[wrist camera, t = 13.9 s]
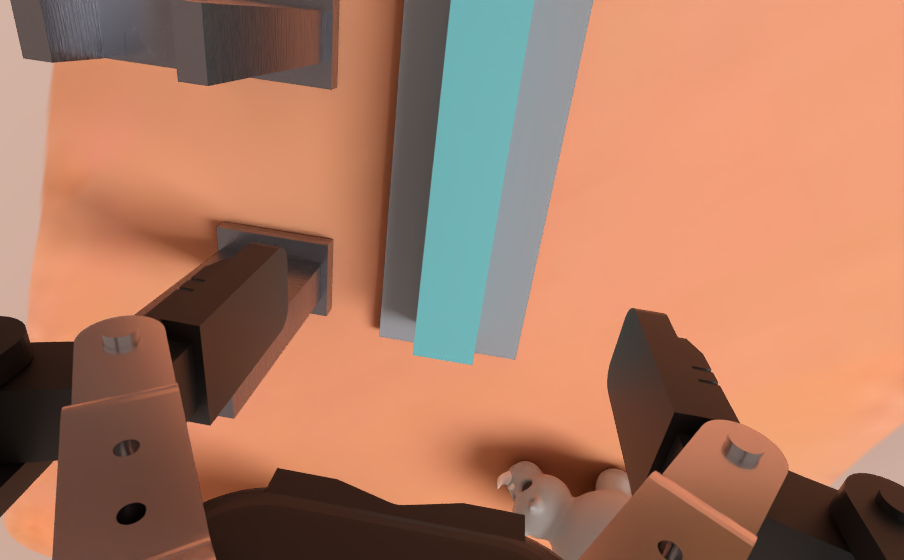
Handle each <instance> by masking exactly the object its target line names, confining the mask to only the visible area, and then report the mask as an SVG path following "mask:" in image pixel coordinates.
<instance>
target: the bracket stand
mask: <svg viewBox="0 0 904 560" xmlns="http://www.w3.org/2000/svg"><path fill="white" fill-rule="evenodd" d="M10 1H11V5H12V10H13V14H14V19H15V23H16V27H17V32H18V37H19V41H20V46H21V50H22V55H23V58H25V59H32V60H39V61H45V62H52V63H53V62H65V61H77V60H89V59H101V58H109V59H115V60H122V61H129V62H135V63H142V64H149V65H155V66H162V67H169V68H176V69H177V76H178V82H185V83H191V84H198V85H205V86H210V85H215V84H220V83H225V82H230V81H235V80H240V79H245V78H257V79H263V80H270V81H277V82H283V83H290V84H297V85H304V86H310V87H317V88H324V89H330V90H332V89H334V88H337V71H338V31H339V0H10ZM216 229H217V241H218V252H217V253H215V254H214V255H213V256H212V257H210V258H209V259H208V260H206V261H205V262H204V263H202V264H201V265H200V266H198V267H197V268H196V269H194V270H193V271H192V272H190V273H189V274H188V275H186V276H185V277H184V278H182V279H181V280H180V281H178V282H177V283H176V284H175V285H173V286H172V287H171V288H169V289H168V290H167V291H165V292H164V293H163V294H161V295H160V296H159V297H157V298H156V299H155V300H153V301H152V302H151V303H149V304H148V305H147V306H145V307H144V308H143V309H141V310H140V311H139V312H137V313H136V314H135V315H134V316H144V315H145V314H146V313H148V312H149V311H150V310H151V309H153V308H154V307H155V306H156V305H158V304H159V303H160V302H161V301H163V300H164V299H165V298H166V297H168V296H169V295H170V294H171V293H173V292H174V291H175V290H176V289H178V290H179V288H180V286H181V285H183V284H184V283H185V282H186V281H188V280H191V277H193V276H194V275H195V274H196V273H197V272H199V271H200V270H201V269H202V268H204V267H205V266H208V265H210V264H213V263H215V262H218V261H221V260H223V259H231V258H233V257H234V256H235V255H236V254H237V253H239V252H240V251H241V250H242V249H243V248H244V247H246V246H247V245H248V244H249V243H258V244H264V245H270V246H276V247H282V248H284V249H285V250H286V253H287V266H288V312H287V318H286V321H285V324H284V327H283V329H282V331H281V332H280V334H279V335H278V336H277V338H276V339H275V340H274V342H273V343H272V344H271V346H270V347H269V348H268V350H267V351H266V352H265V354H264V355H263V356H262V358H261V359H260V360H259V362H258V363H257V364H256V366H255V367H254V368H253V370H252V371H251V372H250V374H249V375H248V376H247V378H246V379H245V380H244V382H243V383H242V384H241V385H240V387H239V388H238V389H237V391H236V392H235V393H234V395H233V396H232V397H231V399H230V400H229V401H228V403H227V404H226V405H225V407H224V408H223V409H222V411H221V412H220V413H219V415H218V416H222V417H227V418H233V419H234V418H235V417H236V415H237V414H238V413H239V411H240V410H241V408H242V407H243V406H244V404H245V403H246V401H247V400H248V399H249V397H250V396H251V395H252V393H253V392H254V390H255V389H256V388H257V386H258V385H259V384H260V382H261V381H262V379H263V378H264V377H265V375H266V374H267V372H268V371H269V370H270V368H271V367H272V366H273V364H274V363H275V361H276V360H277V359H278V357H279V356H280V354H281V353H282V352H283V350H284V349H285V348H286V346H287V345H288V343H289V342H290V341H291V339H292V338H293V336H294V335H295V334H296V332H297V331H298V330H299V328H300V327H301V325H302V324H303V323H304V321H305V320H306V318H307V317H308V316H309V314H310V313H311V314H317V315H323V316H327V315H328V313H329V312H330V310H331V306H332V267H333V239H328V238H322V237H316V236H309V235H303V234H297V233H291V232H285V231H279V230H273V229H266V228H260V227H254V226H248V225H242V224H236V223H230V222H223V223H222V224H220V225H219V226H217V227H216Z"/></svg>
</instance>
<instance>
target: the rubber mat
mask: <svg viewBox="0 0 904 560" xmlns="http://www.w3.org/2000/svg"><path fill="white" fill-rule="evenodd" d="M450 4H451V0H404V11H403V24H402V37H401V51H400V64H399V78H398V91H397V104H396V118H395V131H394V145H393V158H392V172H391V185H390V198H389V212H388V225H387V239H386V252H385V265H384V279H383V292H382V306H381V319H380V332H379V337H385V338H391V339H397V340H403V341H409V342H414V338H415V329H416V320H417V310H418V301H419V292H420V282H421V273H422V264H423V255H424V245H425V236H426V227H427V217H428V208H429V199H430V190H431V180H432V171H433V162H434V152H435V143H436V134H437V125H438V115H439V106H440V97H441V87H442V78H443V69H444V59H445V50H446V41H447V32H448V22H449V13H450ZM592 4H593V0H534V5H533V11H532V17H531V23H530V29H529V35H528V41H527V46H526V52H525V58H524V64H523V70H522V76H521V82H520V88H519V93H518V99H517V105H516V111H515V117H514V123H513V129H512V134H511V140H510V146H509V152H508V158H507V164H506V170H505V175H504V181H503V187H502V193H501V199H500V205H499V211H498V216H497V222H496V228H495V234H494V240H493V246H492V252H491V257H490V263H489V269H488V275H487V281H486V287H485V293H484V298H483V304H482V310H481V316H480V322H479V328H478V334H477V340H476V345H475V351H474V353H479V354H485V355H490V356H496V357H502V358H508V359H514V360H515V358H516V354H517V349H518V345H519V340H520V335H521V331H522V326H523V322H524V317H525V312H526V308H527V303H528V299H529V294H530V289H531V285H532V280H533V276H534V271H535V266H536V262H537V257H538V253H539V248H540V243H541V239H542V234H543V230H544V225H545V220H546V216H547V211H548V207H549V202H550V197H551V193H552V188H553V184H554V179H555V174H556V170H557V165H558V161H559V156H560V151H561V147H562V142H563V138H564V133H565V128H566V124H567V119H568V115H569V110H570V105H571V101H572V96H573V92H574V87H575V82H576V78H577V73H578V69H579V64H580V59H581V55H582V50H583V45H584V41H585V36H586V32H587V27H588V22H589V18H590V13H591V9H592Z"/></svg>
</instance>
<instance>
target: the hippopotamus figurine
mask: <svg viewBox="0 0 904 560" xmlns="http://www.w3.org/2000/svg"><path fill="white" fill-rule="evenodd" d="M504 484H505V485H506V486H507V488H508V491H509V493H510V495H511V496H512V498H513V501H514V506H513V513H518V514H523V515H525V536H527V535H530V536H532V537H534V538H538V539H544V540H548V541H549V542H550V544H551V546H552V550H553V552H554V553H556V554H557V555H558V556H560V557H561V558H563V559H564V560H578V559H579V558H580V557H581V555H582V554H583V553H584V552H585V551H586V550H587V548H588V547H589V546H590V545H591V544H592V543H593V541H594V540H595V539H596V538H597V537H598V536H599V534H600V533H601V532H602V531H603V530H604V528H605V527H606V526H607V525H608V524H609V523H610V521H611V520H612V519H613V518H614V517H615V516H616V514H617V513H618V512H619V511H620V510H621V509H622V507H623V506H624V505H625V504H626V503H627V502H628V500H629V499H630V498H631V497H632V493H631V489H630V485H629V480H628V476H627V473H626V472H624V471H622V470H620V469H614V468H611V469H606V470H604V471H602V472H601V473H600V475H599V476H598V479H597V482H596V490H595V491H591V492H588V493H585V494H582V495H580V496H578V497H573V496H572V495H571V493H570V491H569V489H568V488H567V486H566V485H565V484H564V483H563V482H562V481H561V480H560V479H558V478H557V477H555V476H552V475H547V474H543V473H542V472H541V470H540V469H539V468H538V466H537V465H535V464H534V463H532V462H529V461H520V462H518V463H516V464H514V465H513V466H512V467H510V469H509V470H508V471H507V472H504V473H502V474H501V475H500V476H499V477H498V480H497V489H499V487H500V486H502V485H504Z"/></svg>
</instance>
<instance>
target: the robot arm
mask: <svg viewBox="0 0 904 560" xmlns="http://www.w3.org/2000/svg"><path fill="white" fill-rule="evenodd" d="M287 312H288V266H287V253H286V250H285V249H284V248H282V247H276V246H270V245H264V244H258V243H249V244H248V245H247V246H246V247H244V248H243V249H242V250H241V251H240V252H239V253H237V254H236V255H235V256H234V257H233V258H231V259H223V260H221V261H218V262H215V263H213V264H210V265H208V266H205V267H204V268H202V269H201V270H200V271H199V272H197V273H196V274H195V275H194V276H193V277H191V280H188V281H186V282H185V283H184V284H183V285H181V286H180V288H179V290H178V289H176V290H175V291H174V292H173V293H171V294H170V295H169V296H168V297H166V298H165V299H164V300H163V301H161V302H160V303H159V304H158V305H156V306H155V307H154V308H153V309H151V310H150V311H149V312H148V313H146V314H145V315H144V316H120V317H114V318H110V319H106V320H103V321H100V322H97V323H95V324H93V325H91V326H89V327H87V328H86V329H84V330H83V331H82V332H80V333H79V335H78V336H77V337H76V339H75V340H74V342H34V343H30V340H29V337H28V334H27V330H26V327H25V325H24V324H23V322H21V321H19V320H18V319H15V318H11V317H5V316H0V517H1V516H2V515H3V514H4V513H5V512H6V511H7V510H8V509H9V507H10V506H11V505H12V504H13V503H14V502H15V501H16V500H17V499H18V498H19V497H20V496H21V495H22V494H23V493H24V492H25V491H26V490H27V489H28V487H29V486H30V485H31V484H32V483H33V482H34V481H35V480H36V479H37V478H38V477H39V476H40V475H41V474H42V473H43V472H44V471H45V470H46V469H47V468H48V466H49V465H50V464H51V463H52V462H53V461H56V460H58V471H57V487H56V504H55V521H54V538H53V555H52V560H564V559H563V558H561V557H560V556H558V555H557V554H556V553H554V552H553V551H551V550H550V549H549V548H547V547H545V546H543V545H542V544H540V543H538V542H536V541H535V540H532V539H530V538H528V537H526V536H525V515H523V514H518V513H512V512H507V511H502V510H496V509H491V508H486V507H481V506H475V505H470V504H465V503H455V504H426V505H396V504H392V503H390V502H387V501H385V500H383V499H381V498H378V497H376V496H374V495H372V494H369V493H367V492H365V491H362V490H360V489H358V488H356V487H353V486H351V485H349V484H347V483H344V482H342V481H340V480H338V479H333V478H327V477H322V476H317V475H311V474H306V473H301V472H295V471H290V470H285V469H280V468H277V470H276V472H275V474H274V476H273V478H272V479H271V481H270V483H269V485H268V487H267V488H254V489H247V490H241V491H237V492H233V493H229V494H225V495H222V496H219V497H216V498H213V499H211V500H209V501H206V502H204V503H203V501H202V497H201V492H200V487H199V482H198V477H197V472H196V468H195V463H194V458H193V453H192V448H191V443H190V439H189V434H188V429H187V424H186V423H187V421H189V422H194V423H200V424H205V425H211V424H212V423H213V421H214V420H215V419H216V417H217V416H218V415H219V413H220V412H221V411H222V409H223V408H224V407H225V405H226V404H227V403H228V401H229V400H230V399H231V397H232V396H233V395H234V393H235V392H236V391H237V389H238V388H239V387H240V385H241V384H242V383H243V382H244V380H245V379H246V378H247V376H248V375H249V374H250V372H251V371H252V370H253V368H254V367H255V366H256V364H257V363H258V362H259V360H260V359H261V358H262V356H263V355H264V354H265V352H266V351H267V350H268V348H269V347H270V346H271V344H272V343H273V342H274V340H275V339H276V338H277V336H278V335H279V334H280V332H281V331H282V329H283V327H284V324H285V321H286V318H287ZM607 388H608V394H609V398H610V402H611V407H612V411H613V415H614V420H615V424H616V428H617V433H618V437H619V441H620V446H621V450H622V454H623V459H624V463H625V467H626V472H627V476H628V480H629V485H630V489H631V493H632V497H631V498H630V499H629V500H628V502H627V503H626V504H625V505H624V506H623V507H622V509H621V510H620V511H619V512H618V513H617V514H616V516H615V517H614V518H613V519H612V520H611V521H610V523H609V524H608V525H607V526H606V527H605V528H604V530H603V531H602V532H601V533H600V534H599V536H598V537H597V538H596V539H595V540H594V541H593V543H592V544H591V545H590V546H589V547H588V548H587V550H586V551H585V552H584V553H583V554H582V555H581V557H580V558H579V559H578V560H904V487H903V486H901V485H899V484H897V483H895V482H893V481H891V480H888V479H885V478H883V477H880V476H876V475H872V474H867V473H857V474H852V475H850V476H849V477H848V478H847V479H846V480H845V481H844V483H843V485H842V486H841V487H840V489H839V490H836V489H833V488H831V487H828V486H826V485H823V484H821V483H818V482H816V481H813V480H810V479H808V478H805V477H803V476H800V475H798V474H796V473H793V472H791V471H789V470H788V463H787V460H786V458H785V456H784V454H783V453H782V452H781V451H780V449H779V448H778V447H777V446H776V445H775V444H774V443H773V442H772V441H770V440H769V439H768V438H767V437H765V436H764V435H762V434H761V433H759V432H757V431H756V430H754V429H752V428H750V427H748V426H745V425H743V424H740V422H739V421H738V419H737V417H736V415H735V413H734V411H733V409H732V407H731V406H730V404H729V402H728V400H727V398H726V396H725V394H724V392H723V391H722V389H721V387H720V386H719V385H718V381H717V379H716V378H715V376H714V374H713V373H712V372H711V368H710V366H709V364H708V363H707V361H706V359H705V357H704V355H703V354H702V353H701V352H700V351H699V350H698V349H697V348H696V347H695V346H694V345H692V344H691V343H690V342H689V341H688V340H687V339H684V338H678V337H677V335H676V333H675V331H674V329H673V327H672V325H671V323H670V320H669V318H668V316H667V315H666V314H664V313H658V312H652V311H646V310H641V309H635V308H631V309H630V310H629V311H628V313H627V315H626V317H625V320H624V323H623V326H622V329H621V332H620V335H619V338H618V341H617V344H616V347H615V350H614V353H613V356H612V359H611V362H610V366H609V371H608V378H607Z"/></svg>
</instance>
